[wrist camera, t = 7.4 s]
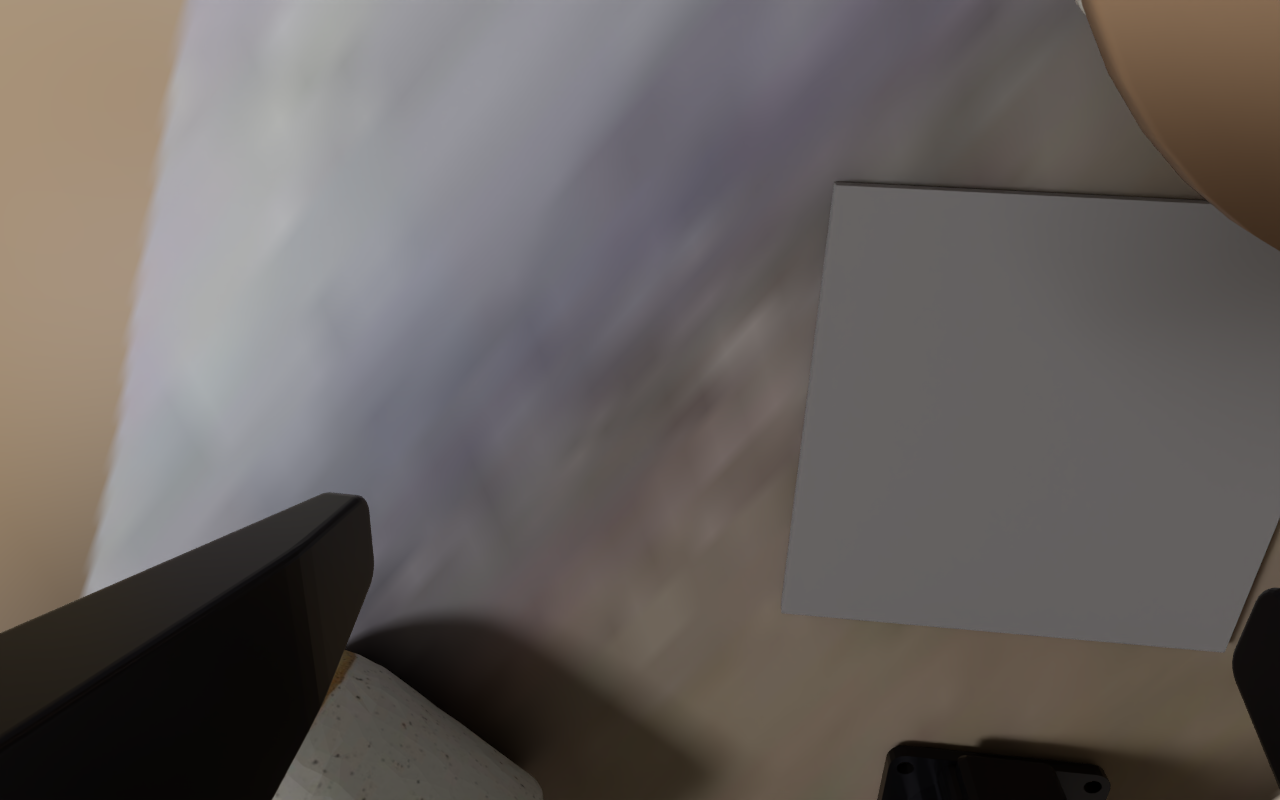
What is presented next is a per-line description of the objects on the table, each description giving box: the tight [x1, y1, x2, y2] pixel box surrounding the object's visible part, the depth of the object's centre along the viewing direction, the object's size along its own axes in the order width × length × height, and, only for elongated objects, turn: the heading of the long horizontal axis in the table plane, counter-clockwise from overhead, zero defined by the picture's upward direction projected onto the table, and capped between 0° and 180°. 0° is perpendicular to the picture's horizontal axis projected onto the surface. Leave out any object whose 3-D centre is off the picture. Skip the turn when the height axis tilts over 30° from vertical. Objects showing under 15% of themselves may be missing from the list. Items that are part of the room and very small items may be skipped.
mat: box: [781, 182, 1280, 652], centre depth 21 cm, size 12×12×1 cm
